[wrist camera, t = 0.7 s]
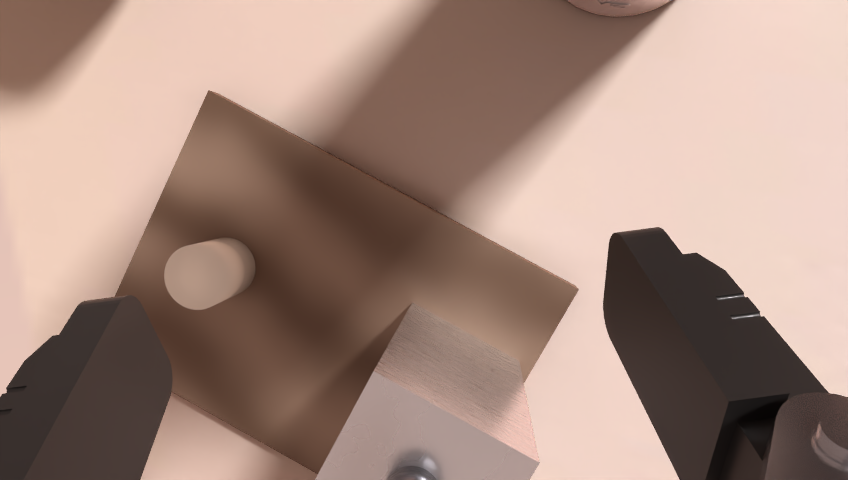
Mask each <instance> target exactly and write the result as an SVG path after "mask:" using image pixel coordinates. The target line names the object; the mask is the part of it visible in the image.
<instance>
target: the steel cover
mask: <svg viewBox="0 0 848 480" xmlns="http://www.w3.org/2000/svg"><path fill="white" fill-rule="evenodd" d="M539 463H540V462H539V457H538V452H537V447H536V442H535V437H534V432H533V427H532V422H531V417H530V412H529V407H528V402H527V397H526V392H525V387H524V382H523V377H522V372H521V367H520V362H519V360H517V359H515V358H513V357H511V356H509V355H508V354H506V353H504V352H502V351H500V350H498V349H497V348H495V347H493V346H491V345H489V344H487V343H486V342H484V341H482V340H480V339H478V338H476V337H475V336H473V335H471V334H469V333H467V332H465V331H464V330H462V329H460V328H458V327H456V326H454V325H453V324H451V323H449V322H447V321H445V320H443V319H442V318H440V317H438V316H436V315H434V314H433V313H431V312H429V311H427V310H425V309H423V308H422V307H420V306H418V305H416V304H414V303H412V304H411V306H410V308H409V309H408V311H407V313H406V315H405V316H404V318H403V320H402V322H401V324H400V325H399V327H398V329H397V331H396V332H395V334H394V336H393V338H392V339H391V341H390V343H389V345H388V346H387V348H386V350H385V352H384V354H383V355H382V357H381V359H380V361H379V362H378V364H377V366H376V368H375V369H374V371H373V373H372V375H371V377H370V379H369V380H368V382H367V384H366V386H365V388H364V390H363V392H362V393H361V395H360V397H359V399H358V401H357V403H356V405H355V406H354V408H353V410H352V412H351V414H350V416H349V418H348V419H347V421H346V423H345V425H344V427H343V429H342V431H341V432H340V434H339V436H338V438H337V440H336V442H335V444H334V445H333V447H332V449H331V451H330V453H329V455H328V457H327V458H326V460H325V462H324V464H323V466H322V468H321V469H320V471H319V473H318V475H317V477H316V479H315V480H530V478H531V476H532V475H533V473H534V471H535V470H536V468H537V466H538V465H539Z"/></svg>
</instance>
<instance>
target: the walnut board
mask: <svg viewBox="0 0 848 480" xmlns="http://www.w3.org/2000/svg"><path fill="white" fill-rule="evenodd" d="M225 237H226V238H233V239H236V240H238V241H240V242H242V243H243V244H245V245H246V246H247V247H248V248H249V250H250V251H251V253H252V255H253V257H254V260H255V266H256V270H255V276H254V279H253V281H252V283H251V284H250V286H249V287H248V288H247V289H246V290H244V291H243V292H241V293H239V294H237V295H235V296H233V297H231V298H229V299H227V300H224V301H222V302H220V303H218V304H216V305H214V306H212V307H210V308H207V309H203V310H193V309H188V308H186V307H183V306H182V305H180V304H178V303H177V302H176V301H175V300H174V299H173V298H172V297H171V295H170V294H169V292H168V290H167V288H166V285H165V280H164V271H165V266H166V264H167V261H168V259H169V258H170V256H171V255H172V254H173V253H174V252H175V251H176V250H178V249H180V248H181V247H184V246H188V245H192V244H196V243H201V242H205V241H210V240H214V239H218V238H225ZM578 290H579V289H578V288H577V287H576V286H575V285H573V284H571V283H569V282H567V281H565V280H564V279H562V278H560V277H558V276H556V275H554V274H552V273H551V272H549V271H547V270H545V269H543V268H541V267H539V266H538V265H536V264H534V263H532V262H530V261H528V260H526V259H525V258H523V257H521V256H519V255H517V254H515V253H513V252H512V251H510V250H508V249H506V248H504V247H502V246H500V245H499V244H497V243H495V242H493V241H491V240H489V239H487V238H486V237H484V236H482V235H480V234H478V233H476V232H474V231H473V230H471V229H469V228H467V227H465V226H463V225H461V224H460V223H458V222H456V221H454V220H452V219H450V218H448V217H447V216H445V215H443V214H441V213H439V212H437V211H435V210H434V209H432V208H430V207H428V206H426V205H424V204H422V203H420V202H419V201H417V200H415V199H413V198H411V197H409V196H407V195H406V194H404V193H402V192H400V191H398V190H396V189H394V188H393V187H391V186H389V185H387V184H385V183H383V182H381V181H380V180H378V179H376V178H374V177H372V176H370V175H368V174H367V173H365V172H363V171H361V170H359V169H357V168H355V167H354V166H352V165H350V164H348V163H346V162H344V161H342V160H341V159H339V158H337V157H335V156H333V155H331V154H329V153H328V152H326V151H324V150H322V149H320V148H318V147H316V146H315V145H313V144H311V143H309V142H307V141H305V140H303V139H302V138H300V137H298V136H296V135H294V134H292V133H290V132H289V131H287V130H285V129H283V128H281V127H279V126H277V125H276V124H274V123H272V122H270V121H268V120H266V119H264V118H263V117H261V116H259V115H257V114H255V113H253V112H251V111H249V110H248V109H246V108H244V107H242V106H240V105H238V104H236V103H235V102H233V101H231V100H229V99H227V98H225V97H223V96H222V95H220V94H218V93H215V92H212V91H208V93H207V95H206V97H205V99H204V102H203V104H202V106H201V108H200V110H199V113H198V115H197V117H196V119H195V121H194V124H193V126H192V128H191V130H190V132H189V135H188V137H187V139H186V141H185V143H184V146H183V148H182V150H181V152H180V154H179V157H178V159H177V161H176V163H175V165H174V168H173V170H172V172H171V174H170V176H169V179H168V181H167V183H166V185H165V187H164V190H163V192H162V194H161V196H160V198H159V201H158V203H157V205H156V207H155V209H154V212H153V214H152V216H151V218H150V220H149V223H148V225H147V227H146V229H145V231H144V234H143V236H142V238H141V240H140V242H139V245H138V247H137V249H136V251H135V253H134V256H133V258H132V260H131V262H130V264H129V267H128V269H127V271H126V273H125V275H124V278H123V280H122V282H121V284H120V286H119V289H118V291H117V293H116V295H115V297H119V296H126V295H132V296H134V297H136V298H137V299H138V300H139V301H140V302H141V304H142V306H143V308H144V310H145V312H146V314H147V316H148V318H149V320H150V322H151V324H152V326H153V328H154V330H155V332H156V334H157V336H158V338H159V340H160V342H161V344H162V346H163V348H164V350H165V352H166V354H167V356H168V358H169V360H170V363H171V368H172V377H173V382H172V391H171V392H173V393H175V394H177V395H178V396H180V397H182V398H184V399H186V400H187V401H189V402H191V403H193V404H194V405H196V406H198V407H200V408H202V409H203V410H205V411H207V412H209V413H210V414H212V415H214V416H216V417H218V418H219V419H221V420H223V421H225V422H226V423H228V424H230V425H232V426H234V427H235V428H237V429H239V430H241V431H242V432H244V433H246V434H248V435H250V436H251V437H253V438H255V439H257V440H258V441H260V442H262V443H264V444H265V445H267V446H269V447H271V448H273V449H274V450H276V451H278V452H280V453H281V454H283V455H285V456H287V457H289V458H290V459H292V460H294V461H296V462H297V463H299V464H301V465H303V466H305V467H306V468H308V469H310V470H312V471H313V472H315V473H317V474H318V473H319V471H320V469H321V468H322V466H323V464H324V462H325V460H326V458H327V457H328V455H329V453H330V451H331V449H332V447H333V445H334V444H335V442H336V440H337V438H338V436H339V434H340V432H341V431H342V429H343V427H344V425H345V423H346V421H347V419H348V418H349V416H350V414H351V412H352V410H353V408H354V406H355V405H356V403H357V401H358V399H359V397H360V395H361V393H362V392H363V390H364V388H365V386H366V384H367V382H368V380H369V379H370V377H371V375H372V373H373V371H374V369H375V368H376V366H377V364H378V362H379V361H380V359H381V357H382V355H383V354H384V352H385V350H386V348H387V346H388V345H389V343H390V341H391V339H392V338H393V336H394V334H395V332H396V331H397V329H398V327H399V325H400V324H401V322H402V320H403V318H404V316H405V315H406V313H407V311H408V309H409V308H410V306H411V304H412V303H414V304H416V305H418V306H420V307H422V308H423V309H425V310H427V311H429V312H431V313H433V314H434V315H436V316H438V317H440V318H442V319H443V320H445V321H447V322H449V323H451V324H453V325H454V326H456V327H458V328H460V329H462V330H464V331H465V332H467V333H469V334H471V335H473V336H475V337H476V338H478V339H480V340H482V341H484V342H486V343H487V344H489V345H491V346H493V347H495V348H497V349H498V350H500V351H502V352H504V353H506V354H508V355H509V356H511V357H513V358H515V359H517V360H519V362H520V367H521V372H522V377H523V382H525V380H526V379H527V377H528V375H529V374H530V372H531V370H532V369H533V367H534V365H535V363H536V362H537V360H538V358H539V357H540V355H541V353H542V351H543V350H544V348H545V346H546V345H547V343H548V341H549V339H550V338H551V336H552V334H553V333H554V331H555V329H556V327H557V326H558V324H559V322H560V321H561V319H562V317H563V316H564V314H565V312H566V310H567V309H568V307H569V305H570V304H571V302H572V300H573V298H574V297H575V295H576V293H577V292H578Z"/></svg>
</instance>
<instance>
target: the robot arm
mask: <svg viewBox="0 0 848 480" xmlns="http://www.w3.org/2000/svg"><path fill="white" fill-rule="evenodd" d="M567 1H568V2H570V3H571V4H573V5H574V6H576V7H578V8H580V9H583V10H586V11H588V12H591V13H593V14H598V15H605V16H612V17H619V16H634V15H638V14H641V13H645V12H648V11H652V10H655V9H657V8H659V7H660V6H662V5H664V4H666V3H668V2H670V1H672V0H567ZM603 311H604V319H605V324H606V328H607V331H608V334H609V337H610V339H611V341H612V343H613V345H614V347H615V349H616V351H617V353H618V355H619V357H620V359H621V361H622V364H623V366H624V368H625V370H626V372H627V374H628V376H629V378H630V380H631V382H632V384H633V386H634V388H635V390H636V392H637V394H638V396H639V398H640V400H641V402H642V404H643V406H644V408H645V410H646V412H647V414H648V416H649V418H650V420H651V422H652V424H653V426H654V428H655V430H656V432H657V434H658V436H659V439H660V441H661V443H662V445H663V447H664V449H665V451H666V453H667V455H668V457H669V459H670V461H671V463H672V465H673V467H674V469H675V471H676V473H677V475H678V477H679V479H680V480H848V397H844V396H841V395H837V394H830V393H828V391H827V390H826V389H825V388H824V387H823V386H822V385H821V383H820V382H819V381H818V380H817V379H816V378H815V376H814V375H813V374H812V373H811V372H810V370H809V369H808V368H807V367H806V366H805V364H804V363H803V362H802V361H801V360H800V359H799V357H798V356H797V355H796V354H795V353H794V351H793V350H792V349H791V348H790V347H789V346H788V344H787V343H786V342H785V341H784V340H783V338H782V337H781V336H780V335H779V334H778V332H777V331H776V330H775V329H774V328H773V327H772V325H771V324H770V323H769V322H768V321H767V319H766V318H765V317H764V316H763V317H761V316H760V311H759V310H758V309H757V308H756V306H755V305H754V304H753V303H752V302H751V301H750V299H749V298H748V297H744V292H743V291H742V290H741V289H740V287H739V286H738V285H737V284H736V283H735V282H734V280H733V279H732V278H731V277H730V276H729V274H728V273H727V272H726V271H725V270H724V269H722V268H720V267H719V266H717V265H716V264H714V263H712V262H711V261H709V260H707V259H706V258H704V257H702V256H701V255H699V254H698V253H690V254H682V253H681V252H680V250H679V249H678V248H677V246H676V245H675V244H674V242H673V241H672V240H671V239H670V237H669V236H668V235H667V233H666V232H665V231H664V230H663V229H662V228H659V227H656V228H648V229H641V230H633V231H625V232H618V233H614V234H612V236H611V238H610V242H609V249H608V259H607V270H606V280H605V290H604V300H603ZM172 382H173V377H172V368H171V363H170V360H169V358H168V356H167V354H166V352H165V350H164V348H163V346H162V344H161V342H160V340H159V338H158V336H157V334H156V332H155V330H154V328H153V326H152V324H151V322H150V320H149V318H148V316H147V314H146V312H145V310H144V308H143V306H142V304H141V302H140V301H139V300H138V299H137V298H136V297H134V296H132V295H126V296H119V297H111V298H104V299H96V300H88V301H84V302H82V303H80V304H79V305H78V306H77V308H76V309H75V311H74V312H73V314H72V315H71V317H70V319H69V320H68V322H67V323H66V325H65V326H64V328H63V330H62V331H61V333H60V334H59V335H55V336H52V337H51V338H50V339H49V340H48V341H46V342H45V343H44V344H43V345H42V346H41V347H40V348H39V349H37V350H36V351H35V352H34V353H33V354H32V355H31V356H29V357H28V358H27V359H26V360H25V361H24V363H23V364H22V365H21V367H20V368H19V370H18V371H17V373H16V374H15V376H14V377H13V379H12V381H11V382H10V383H9V385H8V386H7V388H6V389H7V393H5V394H2V396H1V397H0V480H140V479H141V476H142V473H143V470H144V467H145V465H146V462H147V459H148V456H149V454H150V451H151V448H152V445H153V442H154V440H155V437H156V434H157V431H158V428H159V426H160V423H161V420H162V417H163V415H164V412H165V409H166V406H167V403H168V401H169V398H170V395H171V391H172Z"/></svg>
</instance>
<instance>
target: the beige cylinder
mask: <svg viewBox="0 0 848 480" xmlns="http://www.w3.org/2000/svg"><path fill="white" fill-rule="evenodd" d="M255 270H256V266H255V260H254V257H253V255H252V253H251V251H250V250H249V248H248V247H247V246H246V245H245V244H243V243H242V242H240V241H238V240H236V239H233V238H226V237H225V238H218V239H214V240H210V241H205V242H201V243H196V244H192V245H188V246H184V247H181V248H180V249H178V250H176V251H175V252H174V253H173V254H172V255H171V256H170V258H169V259H168V261H167V264H166V266H165V271H164V280H165V285H166V288H167V290H168V292H169V294H170V295H171V297H172V298H173V299H174V300H175V301H176V302H177V303H178V304H180V305H182V306H183V307H186V308H188V309H193V310H203V309H207V308H210V307H212V306H214V305H216V304H218V303H220V302H222V301H224V300H227V299H229V298H231V297H233V296H235V295H237V294H239V293H241V292H243V291H244V290H246V289H247V288H248V287H249V286H250V284H251V283H252V281H253V279H254V276H255Z"/></svg>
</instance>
